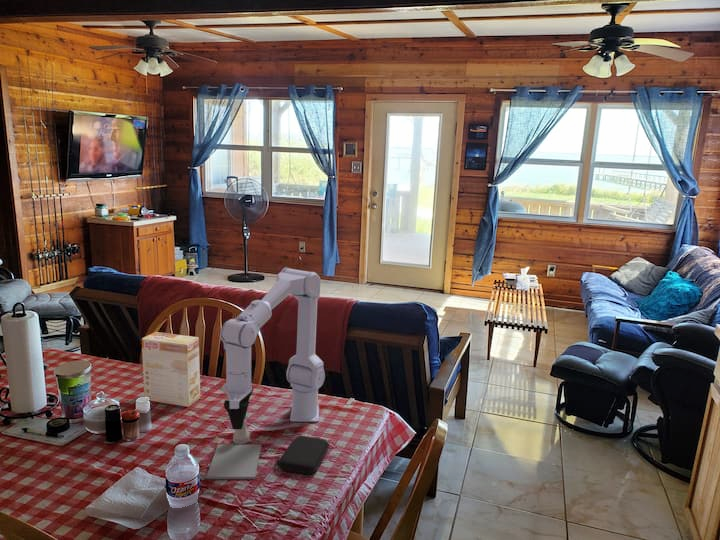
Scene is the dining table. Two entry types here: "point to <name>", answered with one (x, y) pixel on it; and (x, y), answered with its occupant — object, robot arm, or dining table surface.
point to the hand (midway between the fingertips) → (239, 422)
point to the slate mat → (234, 462)
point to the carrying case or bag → (303, 455)
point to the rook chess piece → (241, 434)
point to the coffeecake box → (171, 368)
